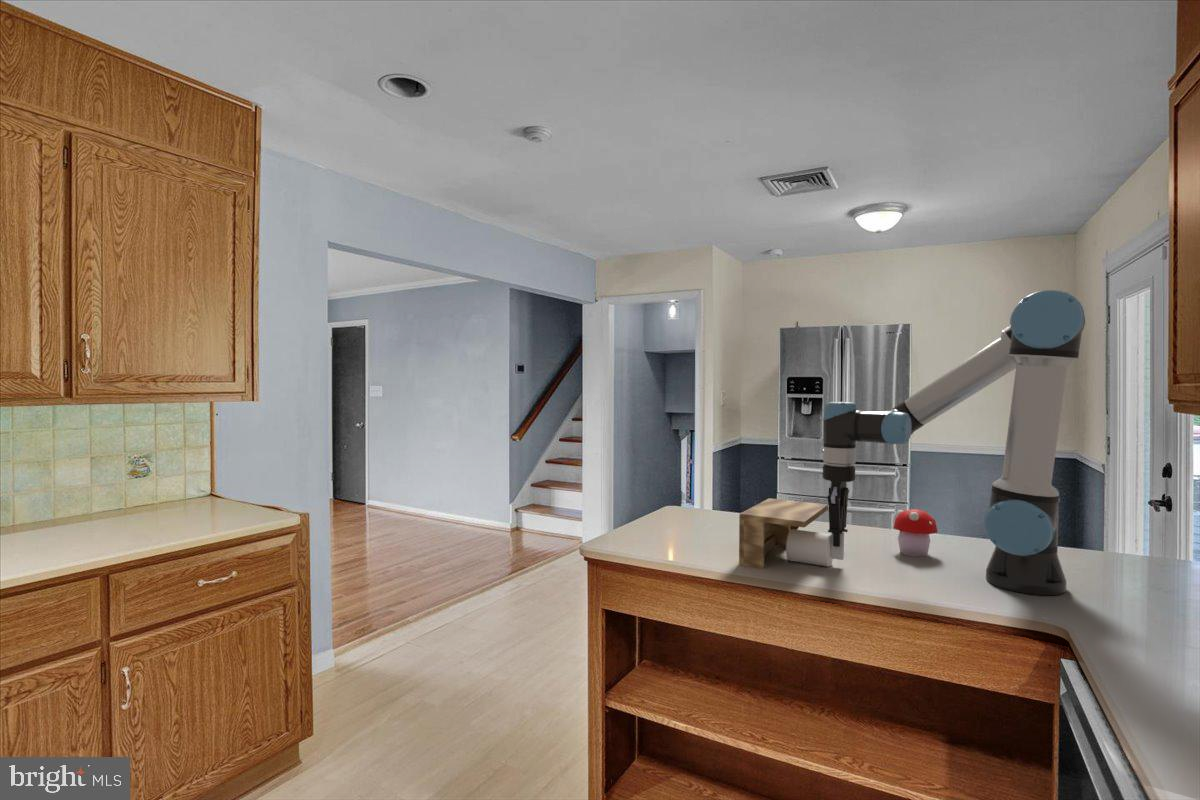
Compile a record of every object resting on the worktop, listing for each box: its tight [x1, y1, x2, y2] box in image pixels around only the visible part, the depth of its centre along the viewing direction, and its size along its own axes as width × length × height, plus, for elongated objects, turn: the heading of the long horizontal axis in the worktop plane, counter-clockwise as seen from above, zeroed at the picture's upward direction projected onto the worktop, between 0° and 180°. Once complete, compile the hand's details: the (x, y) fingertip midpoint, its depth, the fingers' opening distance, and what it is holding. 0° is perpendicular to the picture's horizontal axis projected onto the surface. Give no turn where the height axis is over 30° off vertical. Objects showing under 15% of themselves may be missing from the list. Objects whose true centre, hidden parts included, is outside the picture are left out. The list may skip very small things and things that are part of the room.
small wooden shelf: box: [738, 498, 829, 569], centre depth 162 cm, size 16×24×13 cm, turn 147°
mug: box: [785, 529, 834, 568], centre depth 160 cm, size 12×10×8 cm
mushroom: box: [893, 508, 938, 557], centre depth 167 cm, size 11×11×12 cm
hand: (837, 558), depth 155 cm, fingers closed
